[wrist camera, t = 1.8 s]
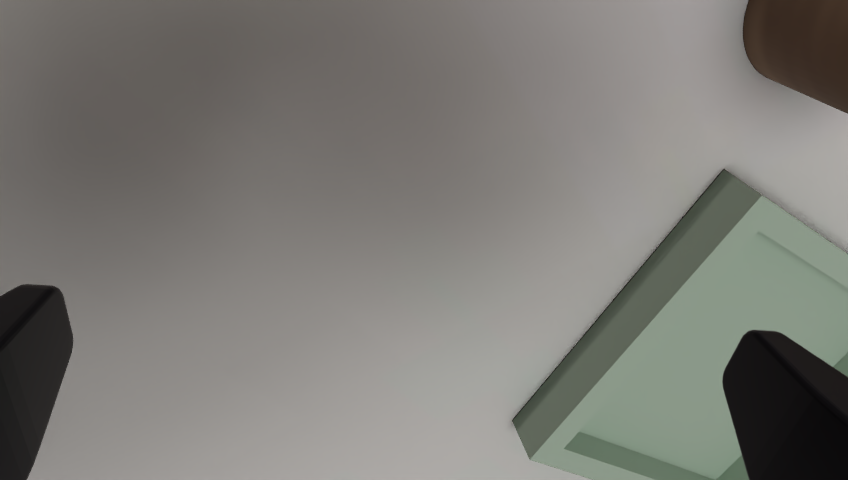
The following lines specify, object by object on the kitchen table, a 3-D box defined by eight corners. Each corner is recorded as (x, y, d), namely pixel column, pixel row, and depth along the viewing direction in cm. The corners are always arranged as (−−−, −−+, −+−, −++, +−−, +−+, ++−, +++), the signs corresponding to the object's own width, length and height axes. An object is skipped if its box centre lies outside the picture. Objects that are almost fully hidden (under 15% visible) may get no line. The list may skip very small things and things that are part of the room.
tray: (707, 488, 33) (732, 523, 31) (512, 420, 27) (529, 459, 26) (906, 295, 29) (949, 324, 27) (724, 169, 23) (762, 195, 21)
